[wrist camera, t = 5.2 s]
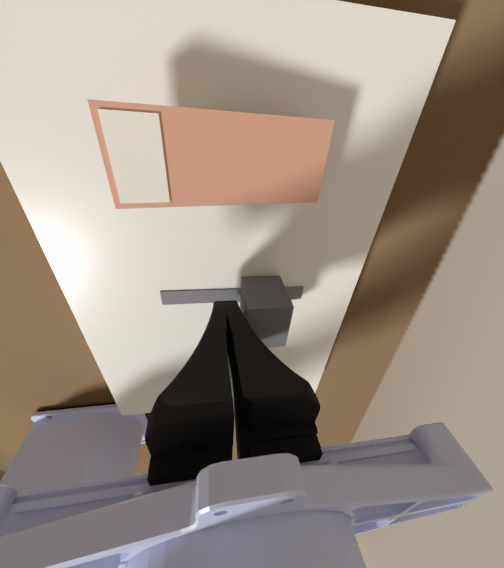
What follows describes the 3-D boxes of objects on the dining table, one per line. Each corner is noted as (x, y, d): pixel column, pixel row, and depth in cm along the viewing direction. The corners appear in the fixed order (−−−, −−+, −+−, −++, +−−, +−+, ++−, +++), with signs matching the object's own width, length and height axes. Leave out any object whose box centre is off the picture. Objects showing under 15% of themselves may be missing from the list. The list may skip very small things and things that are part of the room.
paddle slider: (239, 314, 16) (245, 349, 14) (241, 276, 14) (248, 309, 12) (274, 312, 16) (285, 346, 14) (279, 275, 15) (294, 307, 12)
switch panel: (128, 394, 23) (117, 432, 20) (-48, -37, 8) (-180, -115, 5) (307, 377, 26) (319, 408, 23) (419, 34, 11) (490, 6, 8)
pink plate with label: (119, 200, 9) (115, 209, 8) (94, 100, 7) (86, 98, 6) (306, 196, 11) (318, 202, 11) (320, 119, 10) (336, 120, 9)
